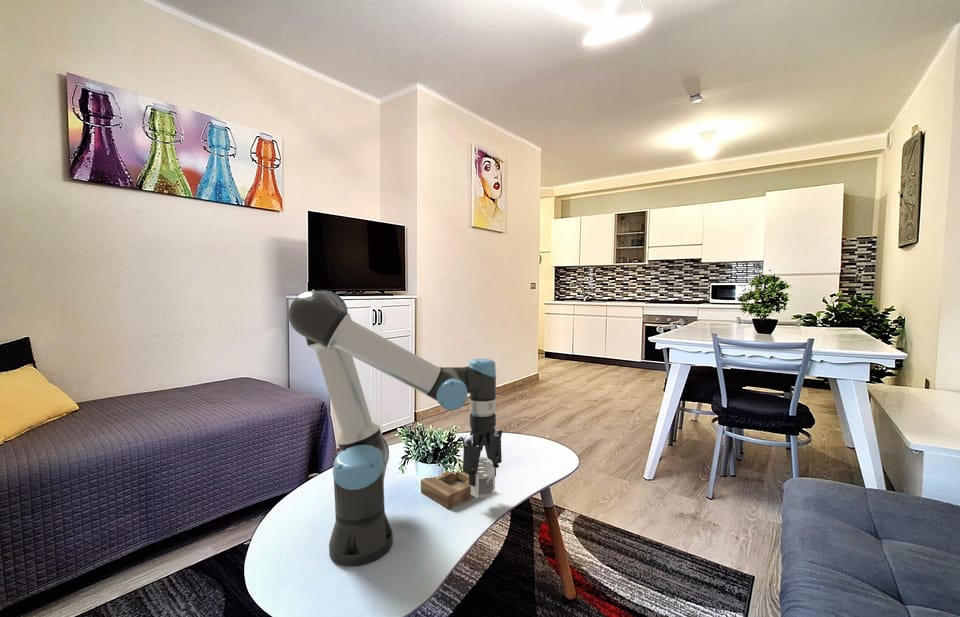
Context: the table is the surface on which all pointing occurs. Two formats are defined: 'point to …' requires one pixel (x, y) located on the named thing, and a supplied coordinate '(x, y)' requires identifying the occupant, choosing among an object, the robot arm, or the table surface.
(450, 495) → the socket board
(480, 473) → the light bulb
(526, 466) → the table surface
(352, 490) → the robot arm
